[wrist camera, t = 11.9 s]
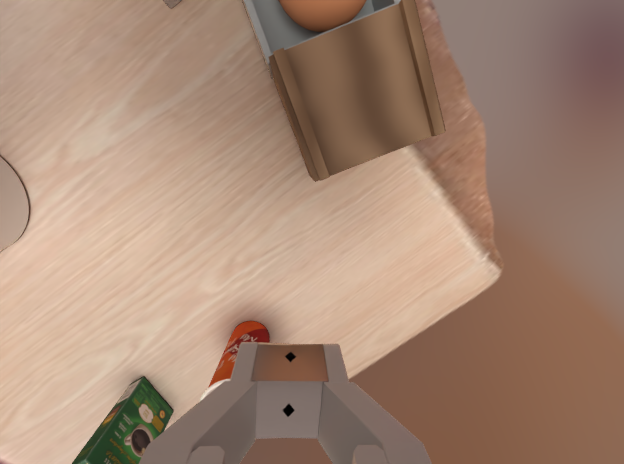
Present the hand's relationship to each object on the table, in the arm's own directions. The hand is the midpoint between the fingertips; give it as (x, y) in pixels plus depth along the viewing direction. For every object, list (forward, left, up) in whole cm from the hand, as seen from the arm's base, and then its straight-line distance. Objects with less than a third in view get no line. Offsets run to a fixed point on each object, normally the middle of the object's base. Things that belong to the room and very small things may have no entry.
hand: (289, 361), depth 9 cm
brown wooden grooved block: (+6, +12, -31) cm, 34 cm away
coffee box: (-20, -32, -31) cm, 49 cm away
